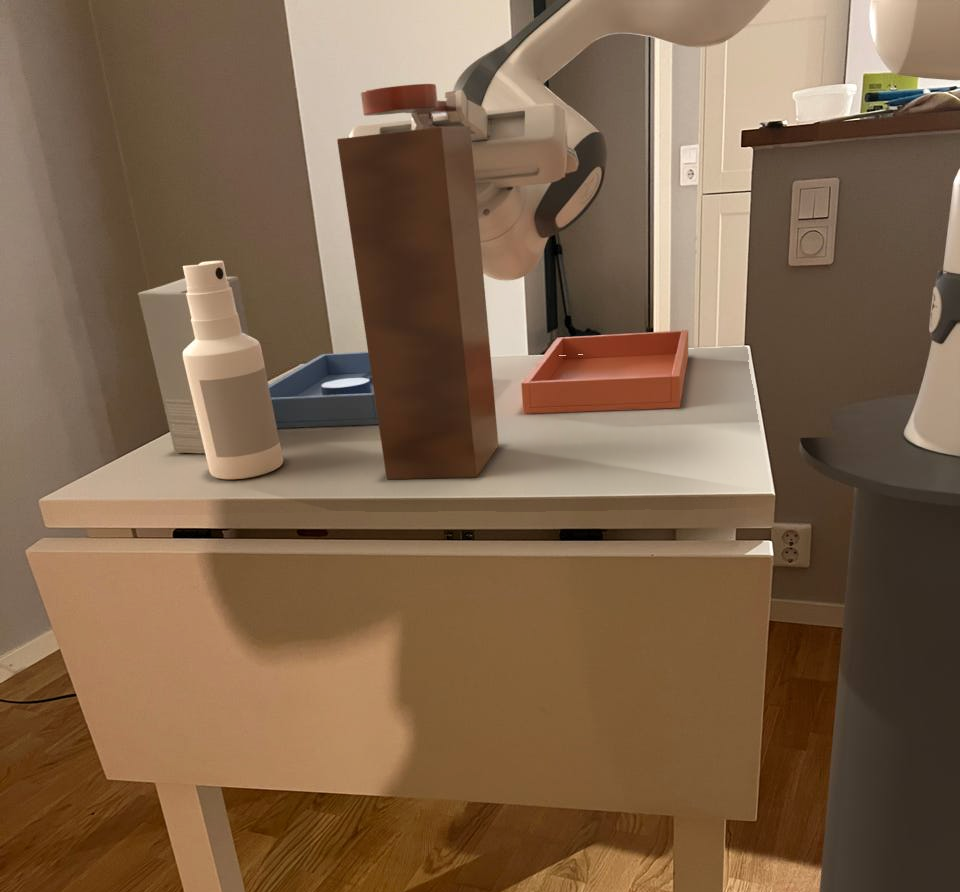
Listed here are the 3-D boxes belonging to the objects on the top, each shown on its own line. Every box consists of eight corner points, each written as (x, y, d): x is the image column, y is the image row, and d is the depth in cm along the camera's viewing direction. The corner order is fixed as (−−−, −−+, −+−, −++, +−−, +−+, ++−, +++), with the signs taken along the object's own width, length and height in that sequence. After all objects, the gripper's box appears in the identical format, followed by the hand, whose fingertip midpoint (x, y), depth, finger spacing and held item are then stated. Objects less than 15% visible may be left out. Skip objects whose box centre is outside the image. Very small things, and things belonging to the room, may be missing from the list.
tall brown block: (498, 446, 88) (470, 126, 76) (476, 477, 80) (441, 126, 68) (415, 448, 89) (375, 137, 78) (386, 479, 82) (336, 138, 70)
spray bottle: (250, 483, 85) (204, 267, 76) (194, 478, 88) (144, 270, 80) (298, 460, 90) (260, 256, 82) (244, 456, 93) (201, 259, 85)
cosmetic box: (216, 431, 103) (181, 276, 96) (274, 431, 100) (242, 272, 93) (170, 455, 96) (128, 289, 89) (230, 455, 94) (192, 285, 86)
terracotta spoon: (481, 109, 84) (480, 89, 83) (426, 106, 68) (424, 82, 68) (421, 116, 85) (418, 97, 84) (353, 115, 70) (350, 92, 69)
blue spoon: (408, 369, 122) (407, 357, 121) (362, 400, 106) (360, 386, 106) (367, 372, 123) (366, 360, 123) (315, 402, 108) (313, 388, 107)
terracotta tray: (688, 356, 113) (688, 329, 112) (679, 407, 93) (679, 375, 92) (558, 363, 117) (557, 337, 116) (523, 414, 97) (521, 383, 96)
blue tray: (442, 372, 119) (439, 347, 118) (383, 424, 99) (379, 394, 97) (325, 378, 123) (321, 354, 121) (246, 429, 103) (240, 400, 101)
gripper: (580, 205, 91) (557, 124, 77) (378, 224, 96) (323, 150, 82) (582, 141, 91) (559, 48, 78) (379, 162, 96) (325, 79, 82)
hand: (435, 101), depth 80 cm, fingers closed on terracotta spoon, 2 cm apart
